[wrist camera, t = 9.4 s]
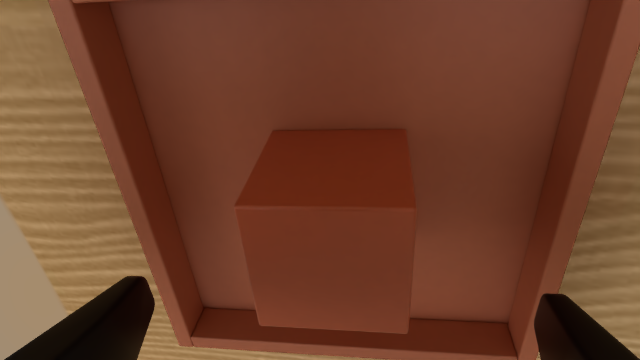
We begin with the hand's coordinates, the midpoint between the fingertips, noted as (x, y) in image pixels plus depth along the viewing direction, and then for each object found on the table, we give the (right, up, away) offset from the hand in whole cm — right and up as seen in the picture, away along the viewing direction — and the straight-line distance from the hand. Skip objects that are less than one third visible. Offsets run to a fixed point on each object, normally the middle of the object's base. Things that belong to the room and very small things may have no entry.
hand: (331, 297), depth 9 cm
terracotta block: (0, +2, +4) cm, 5 cm away
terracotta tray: (0, +3, +4) cm, 5 cm away
